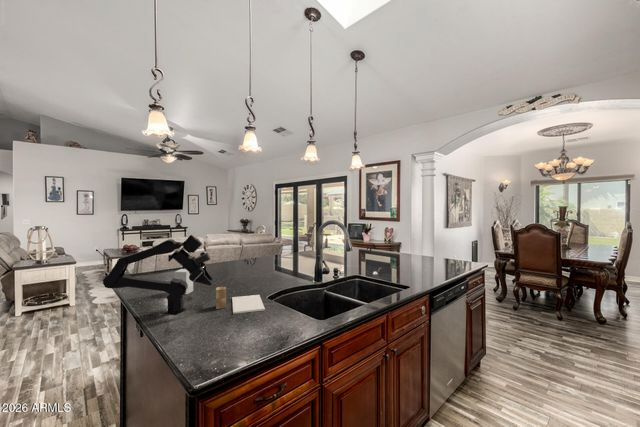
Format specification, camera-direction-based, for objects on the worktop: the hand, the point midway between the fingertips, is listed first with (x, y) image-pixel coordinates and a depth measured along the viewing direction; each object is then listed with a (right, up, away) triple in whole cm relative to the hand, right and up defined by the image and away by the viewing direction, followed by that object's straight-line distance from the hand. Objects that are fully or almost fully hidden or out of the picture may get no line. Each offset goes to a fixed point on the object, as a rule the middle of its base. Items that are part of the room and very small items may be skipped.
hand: (211, 282), depth 131 cm
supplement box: (-25, -12, +24) cm, 37 cm away
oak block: (+4, -12, +2) cm, 13 cm away
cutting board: (+16, -12, +6) cm, 21 cm away
